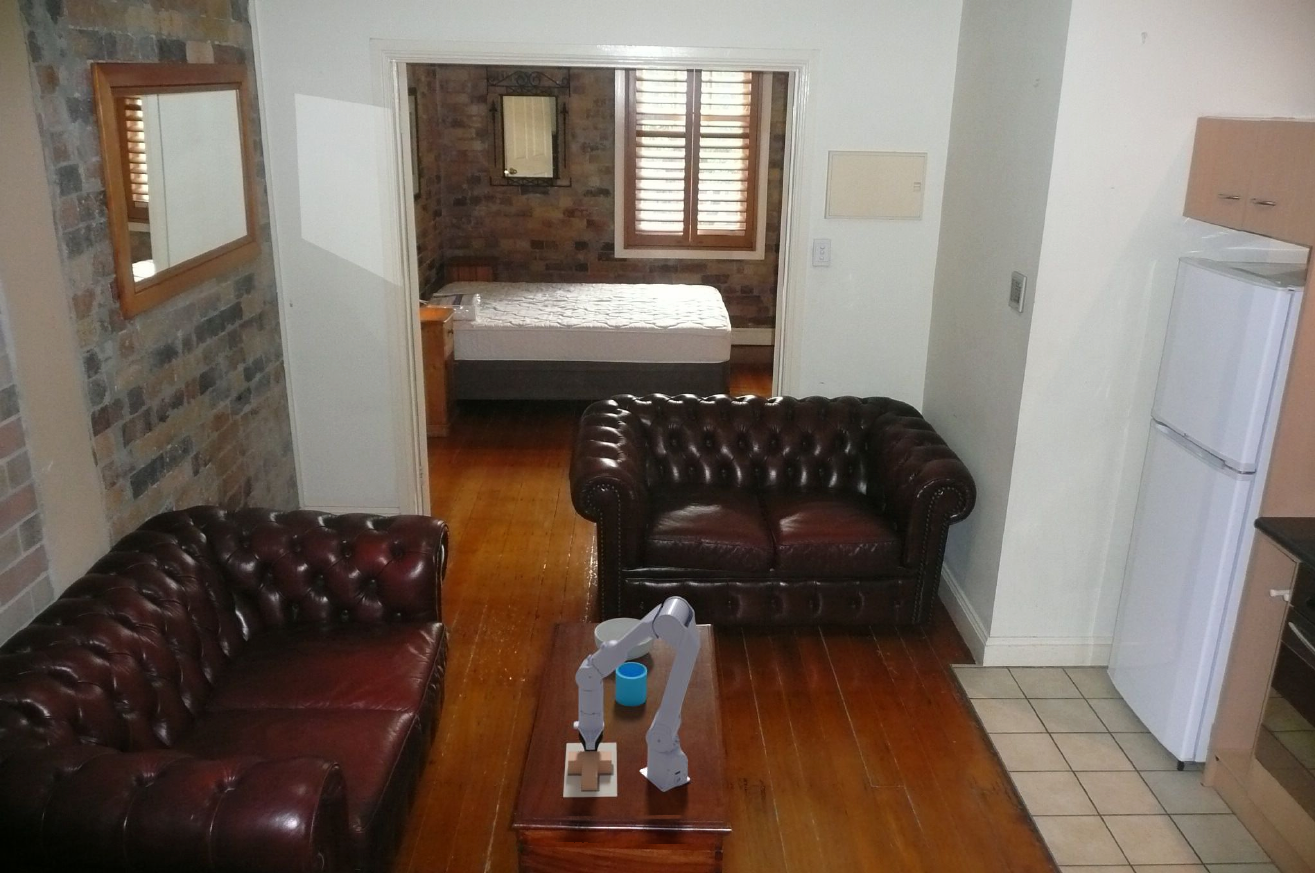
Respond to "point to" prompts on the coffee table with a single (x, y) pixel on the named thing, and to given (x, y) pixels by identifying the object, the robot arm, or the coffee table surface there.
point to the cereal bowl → (621, 635)
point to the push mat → (604, 780)
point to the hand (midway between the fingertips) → (590, 757)
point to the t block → (589, 766)
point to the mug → (631, 684)
